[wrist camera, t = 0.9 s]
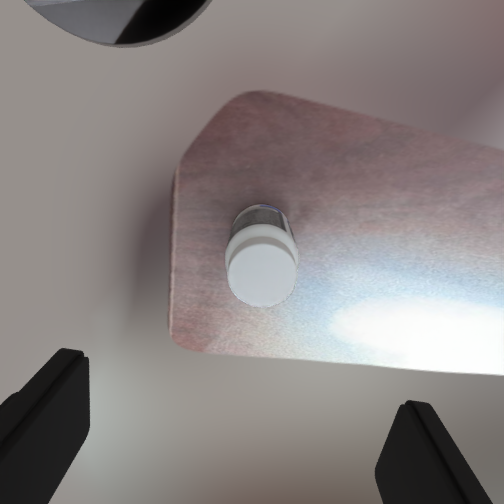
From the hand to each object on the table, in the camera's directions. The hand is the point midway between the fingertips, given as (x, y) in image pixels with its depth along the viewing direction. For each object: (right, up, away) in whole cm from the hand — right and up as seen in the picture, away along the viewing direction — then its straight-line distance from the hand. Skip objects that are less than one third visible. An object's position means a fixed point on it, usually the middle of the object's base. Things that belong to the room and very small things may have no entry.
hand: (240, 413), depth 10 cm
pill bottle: (+1, +6, +16) cm, 18 cm away
